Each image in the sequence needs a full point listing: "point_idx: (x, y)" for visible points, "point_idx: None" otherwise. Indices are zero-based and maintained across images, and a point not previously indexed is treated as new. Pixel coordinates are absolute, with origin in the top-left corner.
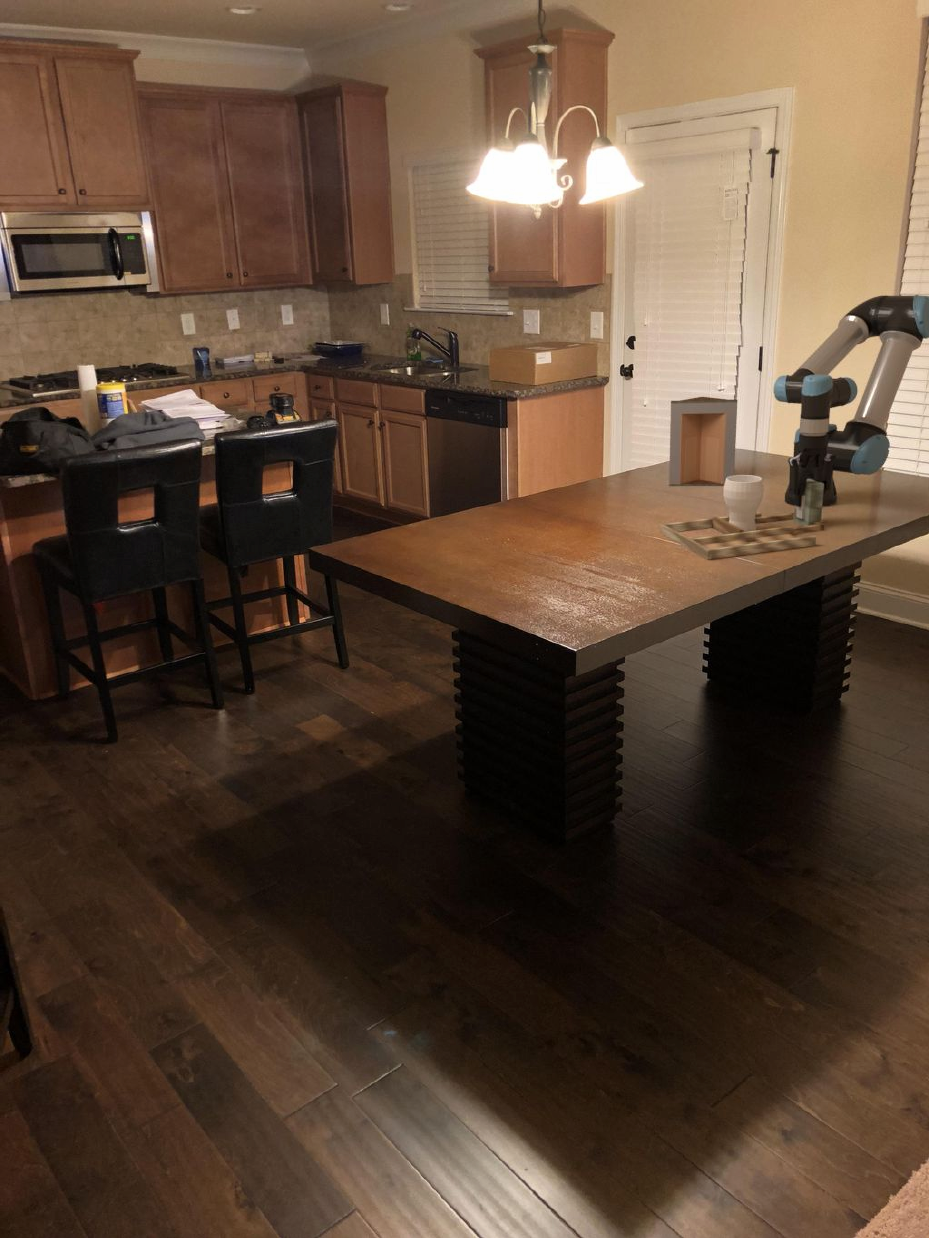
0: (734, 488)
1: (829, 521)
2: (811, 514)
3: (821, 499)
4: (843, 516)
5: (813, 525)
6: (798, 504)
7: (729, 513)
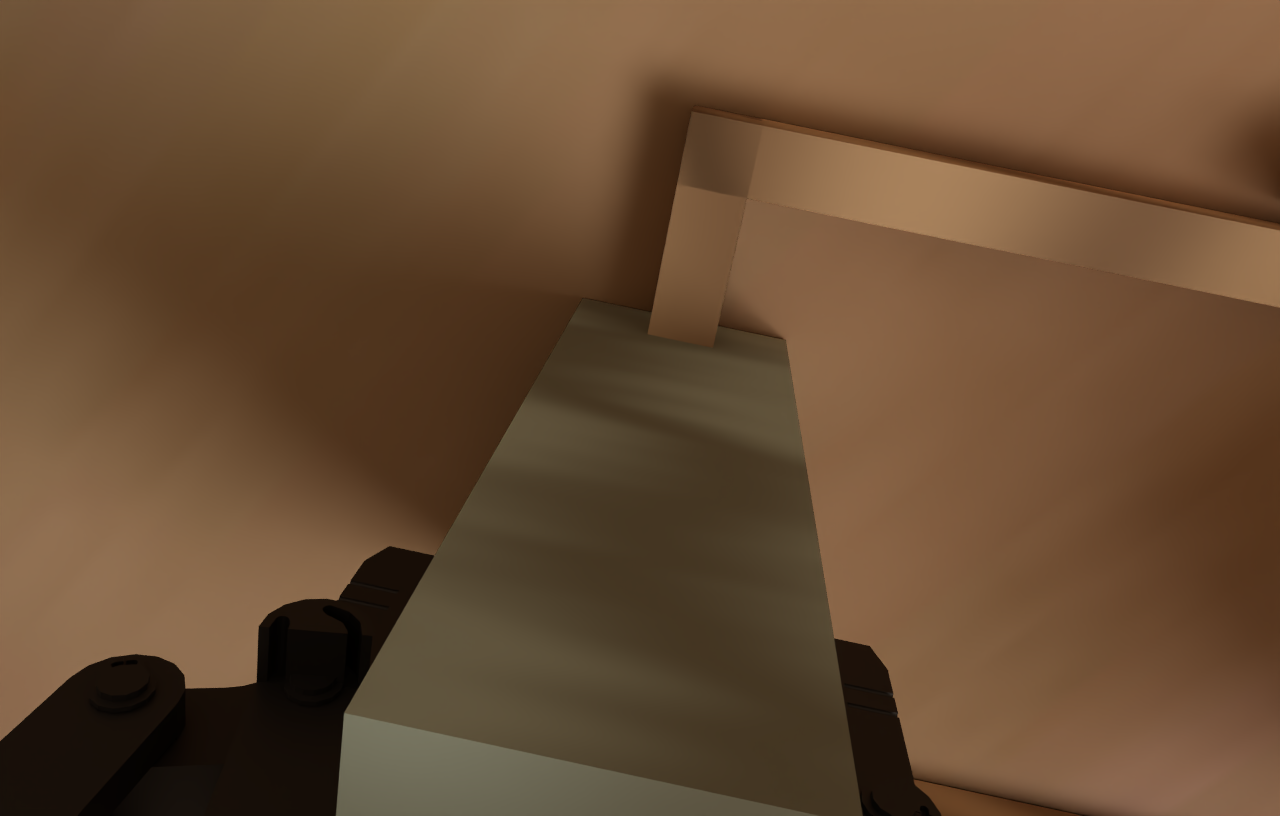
0: None
1: (326, 395)
2: (747, 398)
3: (516, 473)
4: (30, 459)
5: (858, 194)
6: (870, 675)
7: None
